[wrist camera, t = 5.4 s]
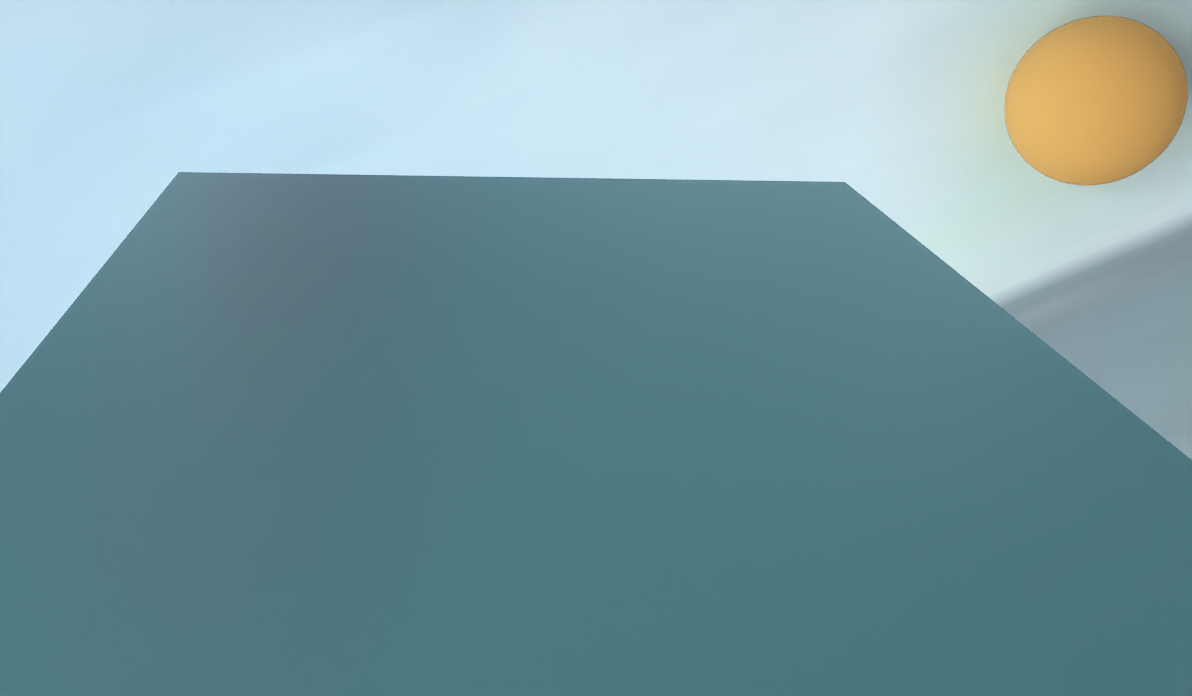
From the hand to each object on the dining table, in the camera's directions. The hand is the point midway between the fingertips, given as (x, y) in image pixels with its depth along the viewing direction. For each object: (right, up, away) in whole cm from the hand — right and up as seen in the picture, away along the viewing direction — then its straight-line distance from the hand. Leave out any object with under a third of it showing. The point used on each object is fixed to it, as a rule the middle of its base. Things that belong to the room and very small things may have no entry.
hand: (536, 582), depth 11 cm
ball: (+16, +10, +20) cm, 28 cm away
